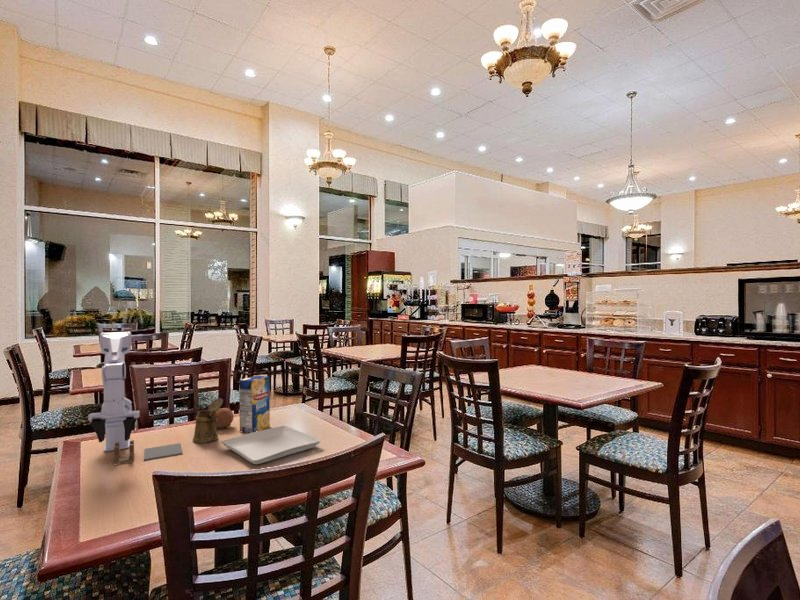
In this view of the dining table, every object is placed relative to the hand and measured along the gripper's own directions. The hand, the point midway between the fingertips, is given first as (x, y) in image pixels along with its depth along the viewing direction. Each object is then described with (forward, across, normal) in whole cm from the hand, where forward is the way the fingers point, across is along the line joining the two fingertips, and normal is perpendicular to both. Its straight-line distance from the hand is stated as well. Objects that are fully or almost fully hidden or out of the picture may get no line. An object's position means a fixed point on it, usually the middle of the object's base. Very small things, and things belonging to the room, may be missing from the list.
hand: (114, 440), depth 142 cm
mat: (+10, +10, +14) cm, 20 cm away
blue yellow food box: (+10, +39, +36) cm, 55 cm away
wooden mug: (+10, +24, +24) cm, 35 cm away
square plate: (+10, +49, +10) cm, 51 cm away
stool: (+10, 0, +8) cm, 13 cm away
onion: (+10, +25, +41) cm, 49 cm away
